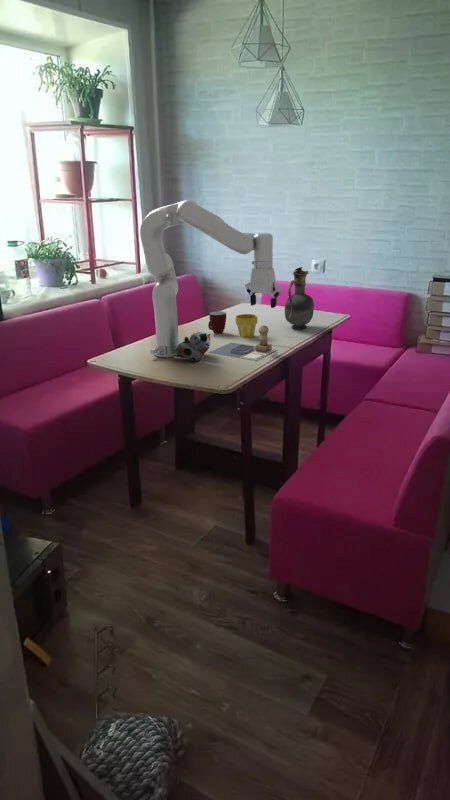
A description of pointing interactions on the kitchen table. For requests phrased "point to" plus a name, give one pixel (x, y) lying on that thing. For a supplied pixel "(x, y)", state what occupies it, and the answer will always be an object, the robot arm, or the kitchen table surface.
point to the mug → (217, 321)
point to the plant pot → (246, 324)
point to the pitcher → (299, 302)
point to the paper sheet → (256, 354)
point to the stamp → (263, 340)
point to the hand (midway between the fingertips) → (263, 306)
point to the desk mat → (226, 351)
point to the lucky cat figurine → (194, 346)
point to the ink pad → (242, 349)
